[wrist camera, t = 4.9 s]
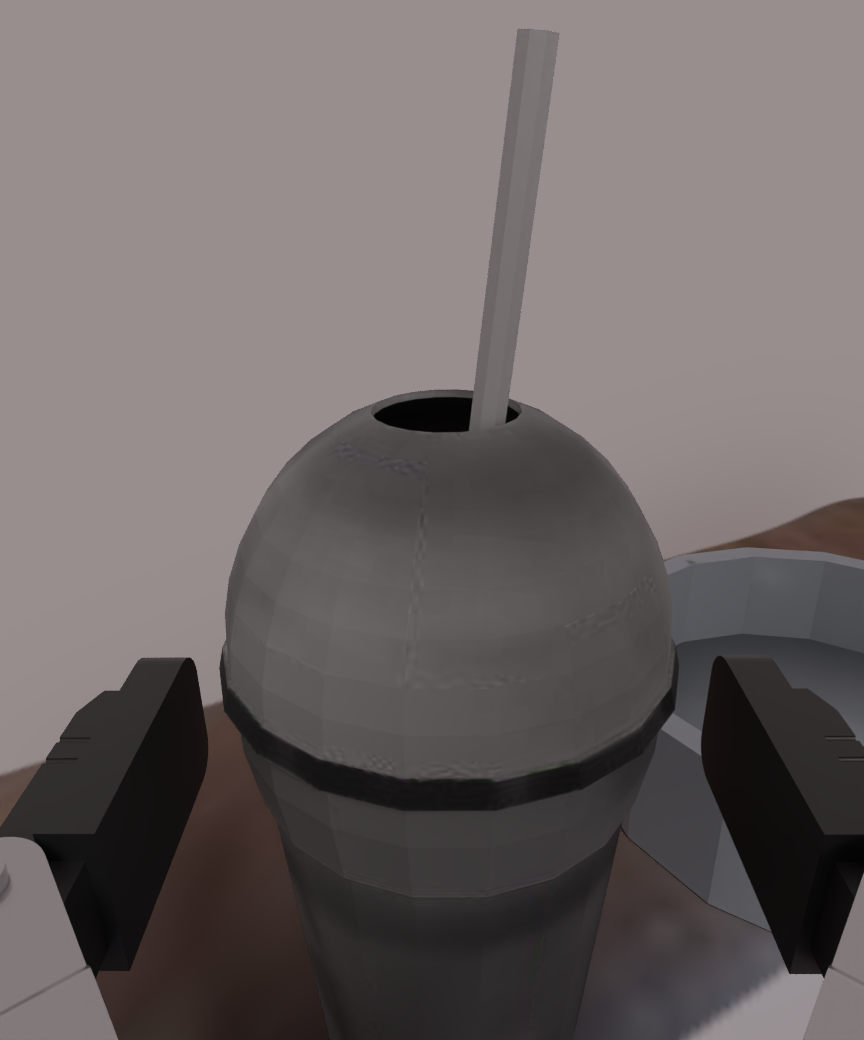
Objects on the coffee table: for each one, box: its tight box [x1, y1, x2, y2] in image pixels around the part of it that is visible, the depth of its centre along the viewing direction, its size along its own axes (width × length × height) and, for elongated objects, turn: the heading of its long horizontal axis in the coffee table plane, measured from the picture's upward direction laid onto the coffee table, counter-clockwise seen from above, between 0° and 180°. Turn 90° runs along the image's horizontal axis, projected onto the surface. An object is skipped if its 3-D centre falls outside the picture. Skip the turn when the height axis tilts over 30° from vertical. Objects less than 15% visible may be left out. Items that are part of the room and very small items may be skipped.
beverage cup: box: [219, 29, 679, 1040], centre depth 14 cm, size 7×7×20 cm
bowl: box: [621, 547, 864, 931], centre depth 26 cm, size 15×15×4 cm
